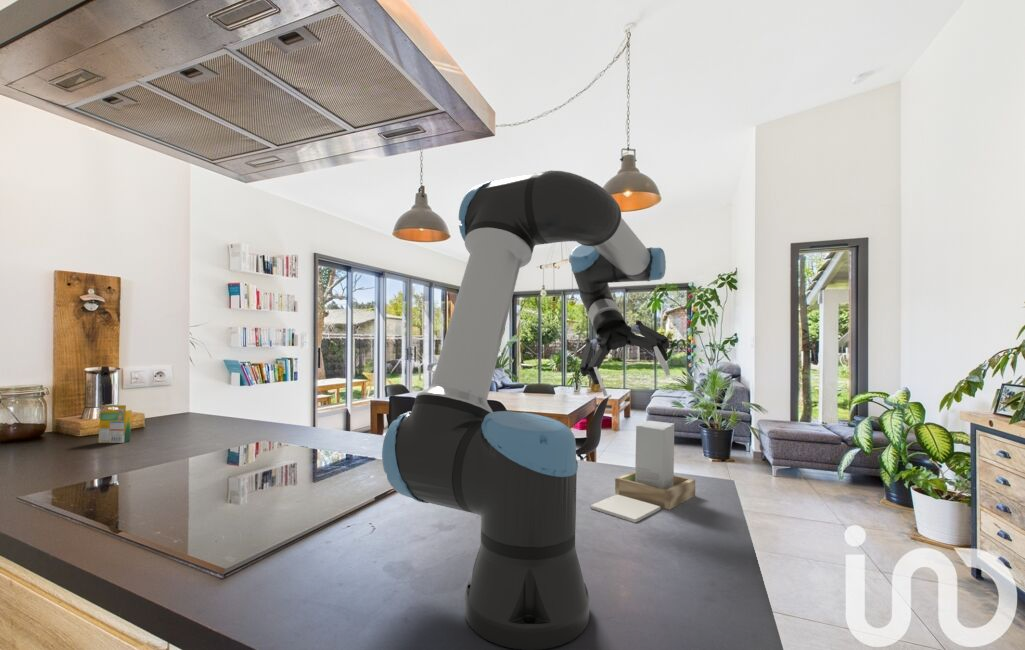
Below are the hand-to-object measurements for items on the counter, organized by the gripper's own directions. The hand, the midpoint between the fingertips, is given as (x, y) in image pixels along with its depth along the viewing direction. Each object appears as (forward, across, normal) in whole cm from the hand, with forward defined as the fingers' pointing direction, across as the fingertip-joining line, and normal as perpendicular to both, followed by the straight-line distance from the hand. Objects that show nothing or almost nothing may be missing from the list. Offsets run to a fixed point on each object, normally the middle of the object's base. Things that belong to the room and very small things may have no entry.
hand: (635, 381), depth 95 cm
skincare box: (+12, +4, -24) cm, 27 cm away
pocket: (+12, +4, -24) cm, 27 cm away
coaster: (+18, +11, -15) cm, 25 cm away
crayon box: (-39, +154, +6) cm, 159 cm away
